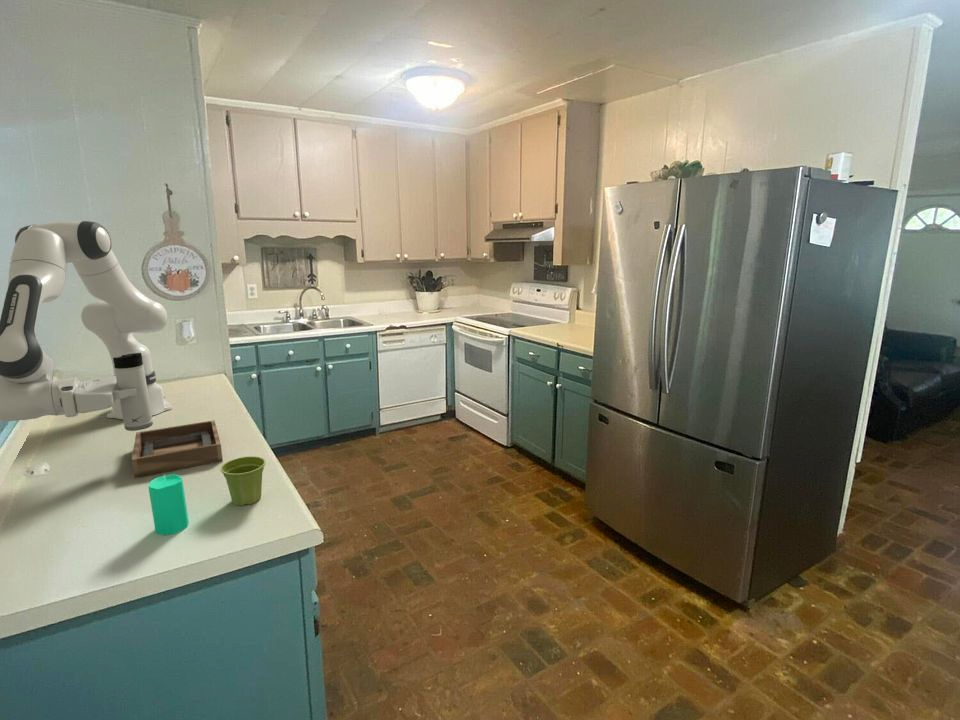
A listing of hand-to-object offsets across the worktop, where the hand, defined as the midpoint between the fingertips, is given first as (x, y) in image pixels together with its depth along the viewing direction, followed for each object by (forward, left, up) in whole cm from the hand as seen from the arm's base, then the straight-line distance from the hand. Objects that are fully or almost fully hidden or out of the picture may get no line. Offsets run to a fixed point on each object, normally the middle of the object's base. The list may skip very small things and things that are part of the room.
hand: (137, 387), depth 135 cm
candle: (+41, +5, -21) cm, 46 cm away
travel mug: (0, -1, -11) cm, 11 cm away
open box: (-1, +7, -21) cm, 22 cm away
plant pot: (+36, +20, -21) cm, 46 cm away
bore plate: (-1, +7, -21) cm, 22 cm away
